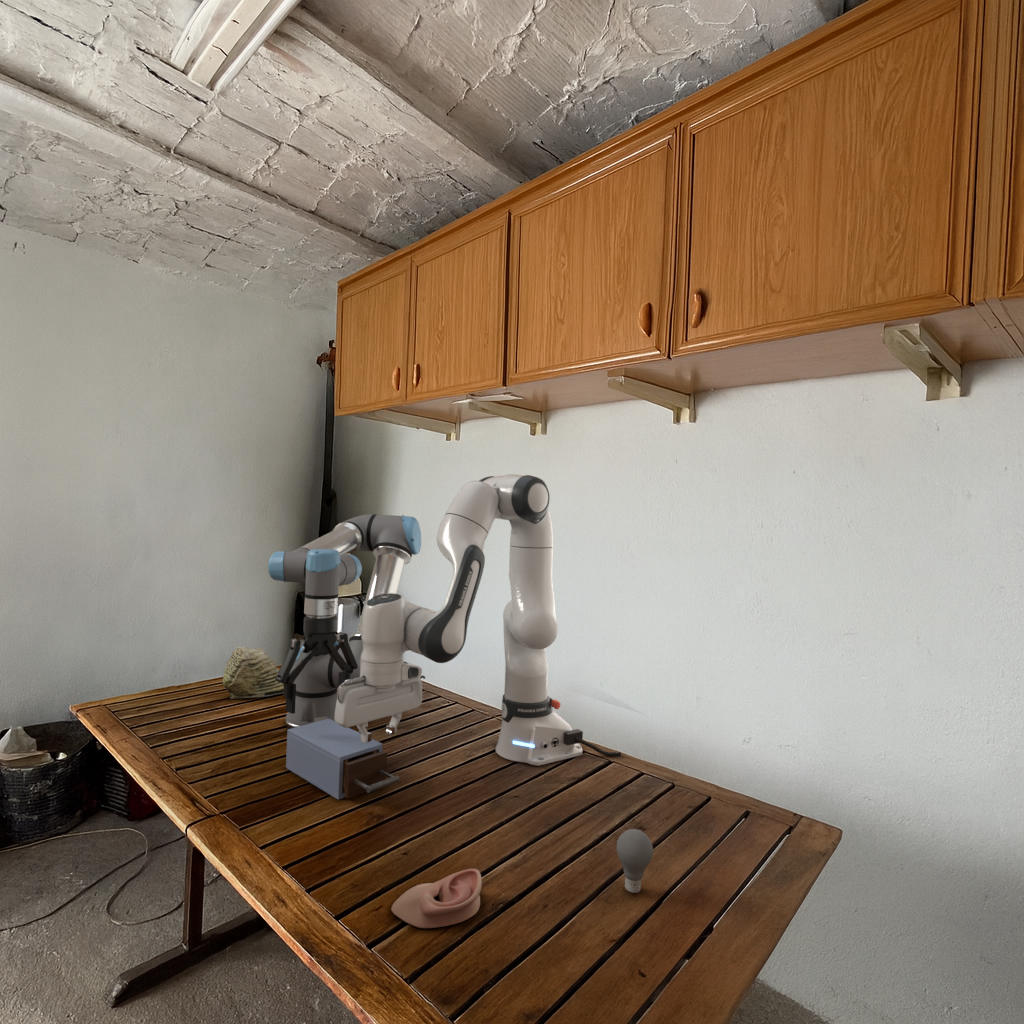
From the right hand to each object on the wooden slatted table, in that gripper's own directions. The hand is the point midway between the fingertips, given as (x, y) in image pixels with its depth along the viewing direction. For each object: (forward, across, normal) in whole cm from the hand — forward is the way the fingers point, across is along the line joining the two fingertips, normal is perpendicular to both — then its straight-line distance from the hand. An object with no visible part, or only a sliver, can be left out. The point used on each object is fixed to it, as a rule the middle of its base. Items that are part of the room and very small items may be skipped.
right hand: (378, 737), depth 133 cm
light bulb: (+13, +12, -55) cm, 57 cm away
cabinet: (+13, 0, +16) cm, 21 cm away
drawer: (+12, 0, +10) cm, 16 cm away
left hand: (-1, 0, +24) cm, 24 cm away
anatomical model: (+13, -14, -35) cm, 40 cm away
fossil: (+13, +14, +82) cm, 84 cm away
